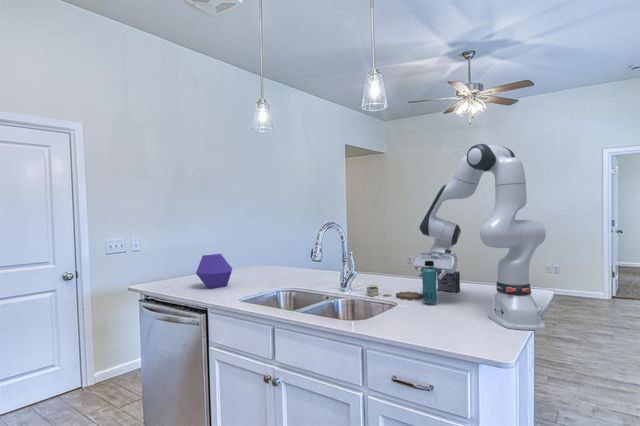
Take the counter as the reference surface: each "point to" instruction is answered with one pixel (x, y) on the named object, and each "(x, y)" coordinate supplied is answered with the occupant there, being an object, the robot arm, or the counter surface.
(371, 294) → the stacked layers on plate
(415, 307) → the counter surface
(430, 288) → the beverage bottle
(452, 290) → the small box
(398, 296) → the gear plate
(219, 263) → the purple faceted block
